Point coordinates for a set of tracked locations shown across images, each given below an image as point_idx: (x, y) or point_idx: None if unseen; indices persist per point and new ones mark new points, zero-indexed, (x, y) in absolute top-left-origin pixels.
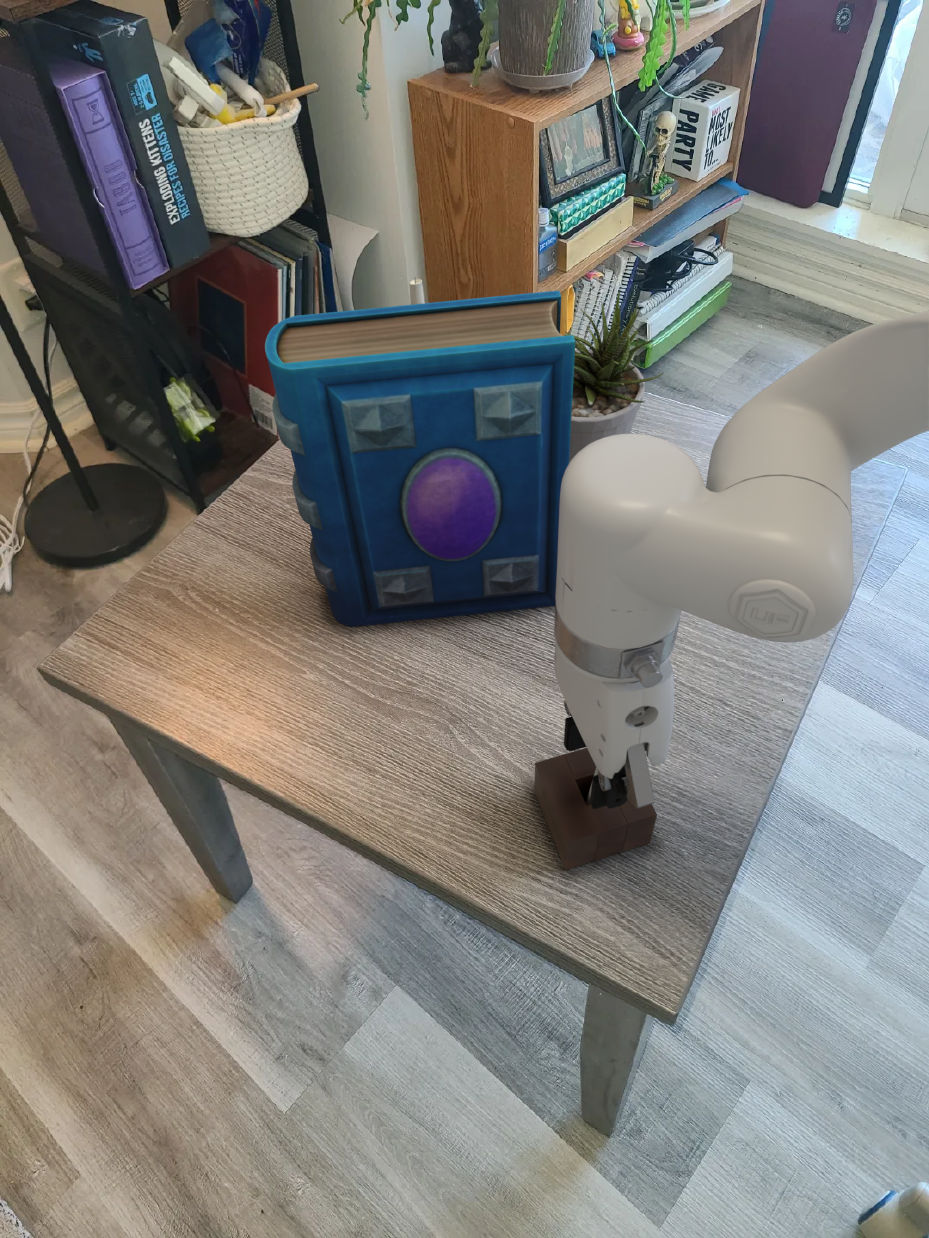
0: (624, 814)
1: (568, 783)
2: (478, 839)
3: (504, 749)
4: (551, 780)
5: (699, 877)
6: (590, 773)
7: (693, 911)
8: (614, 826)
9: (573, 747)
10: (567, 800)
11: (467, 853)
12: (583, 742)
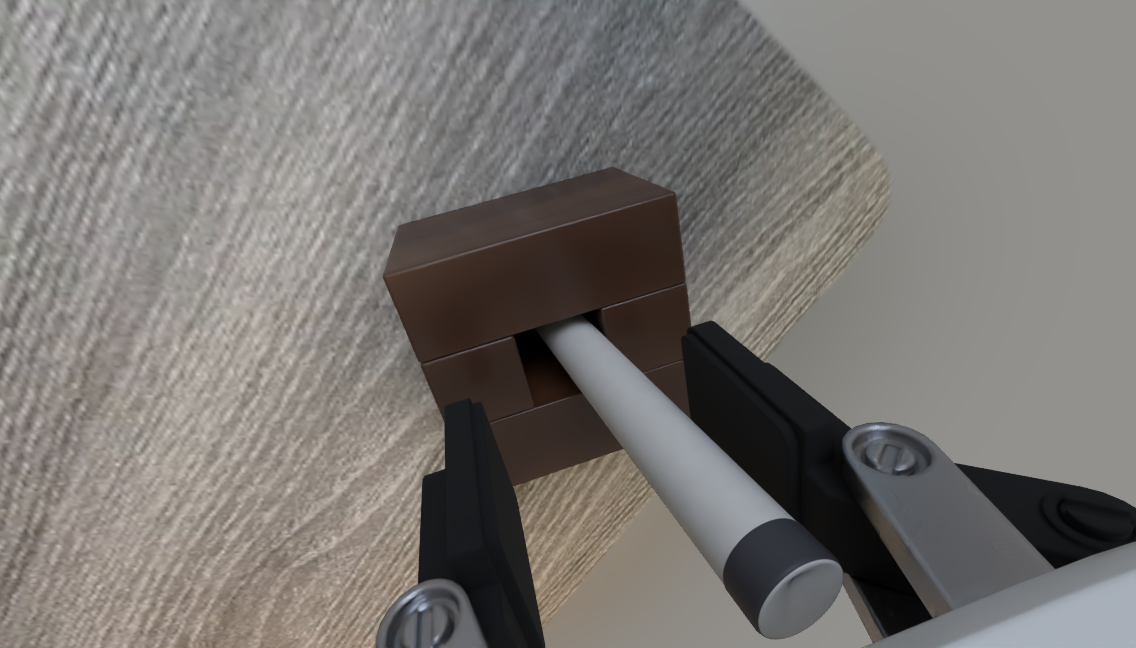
0: (658, 287)
1: (545, 422)
2: (562, 490)
3: (352, 466)
4: (534, 461)
5: (712, 59)
6: (520, 370)
7: (778, 97)
8: (686, 316)
9: (514, 498)
10: (596, 424)
11: (587, 502)
12: (505, 480)
